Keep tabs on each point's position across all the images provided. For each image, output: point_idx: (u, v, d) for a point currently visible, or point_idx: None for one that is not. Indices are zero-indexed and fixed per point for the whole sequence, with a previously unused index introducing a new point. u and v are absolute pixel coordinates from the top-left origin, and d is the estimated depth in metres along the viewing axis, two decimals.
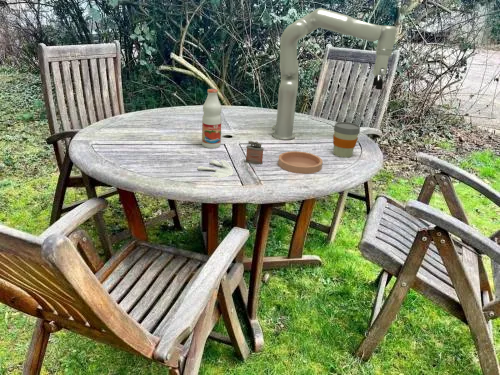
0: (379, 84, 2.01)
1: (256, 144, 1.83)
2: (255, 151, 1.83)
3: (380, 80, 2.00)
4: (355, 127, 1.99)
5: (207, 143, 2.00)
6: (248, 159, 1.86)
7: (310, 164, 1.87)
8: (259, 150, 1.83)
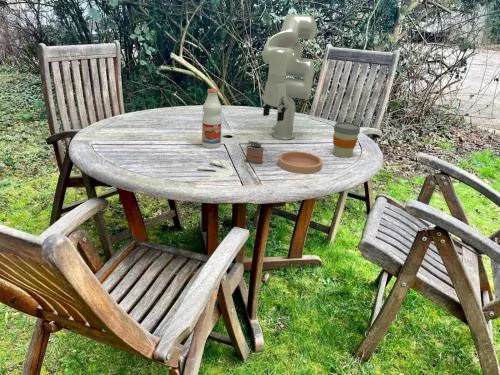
0: (282, 115, 1.77)
1: (256, 144, 1.83)
2: (255, 151, 1.83)
3: (283, 111, 1.76)
4: (355, 127, 1.99)
5: (207, 143, 2.00)
6: (248, 159, 1.86)
7: (310, 164, 1.87)
8: (259, 150, 1.83)
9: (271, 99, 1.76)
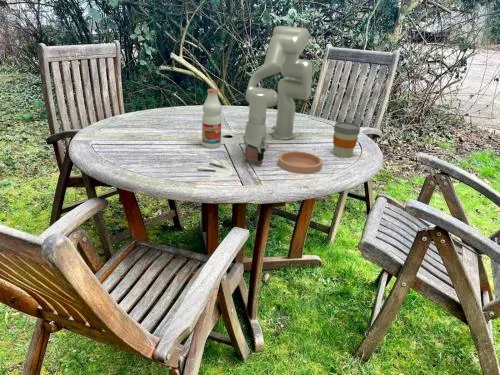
0: (261, 155, 1.82)
1: None
2: (255, 151, 1.83)
3: (263, 151, 1.81)
4: (355, 127, 1.99)
5: (207, 143, 2.00)
6: (248, 159, 1.86)
7: (310, 164, 1.87)
8: None
9: (252, 139, 1.80)
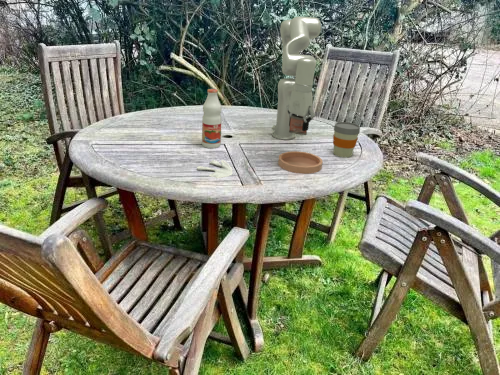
0: (307, 125, 1.76)
1: None
2: (300, 121, 1.78)
3: (308, 121, 1.75)
4: (355, 127, 1.99)
5: (207, 143, 2.00)
6: (291, 129, 1.81)
7: (310, 164, 1.87)
8: None
9: (297, 108, 1.74)
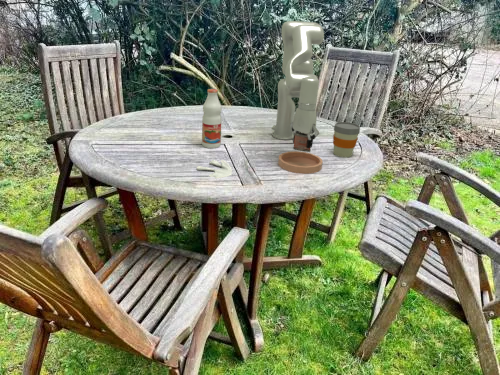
0: (311, 142, 1.79)
1: None
2: (304, 138, 1.81)
3: (312, 138, 1.78)
4: (355, 127, 1.99)
5: (207, 143, 2.00)
6: (296, 146, 1.84)
7: (310, 164, 1.87)
8: None
9: (302, 126, 1.78)
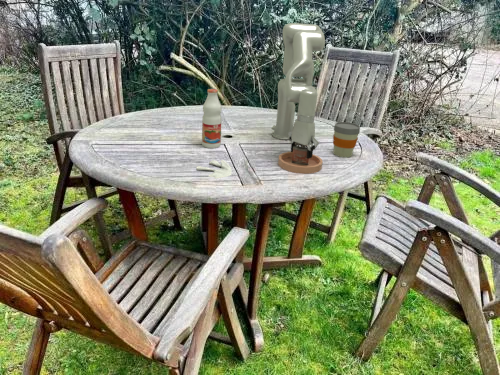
0: (311, 153, 1.81)
1: (303, 145, 1.83)
2: (302, 152, 1.84)
3: (312, 149, 1.80)
4: (355, 127, 1.99)
5: (207, 143, 2.00)
6: (294, 159, 1.87)
7: (310, 164, 1.87)
8: (306, 151, 1.83)
9: (300, 137, 1.80)
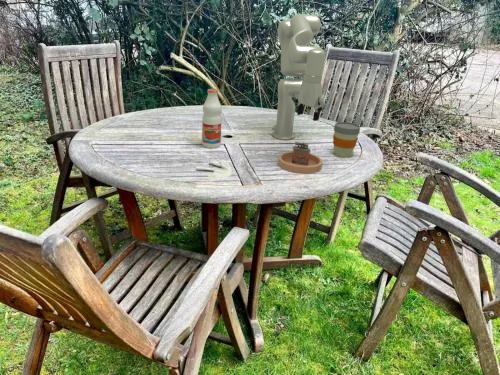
0: (318, 115, 1.78)
1: (303, 145, 1.83)
2: (302, 152, 1.84)
3: (319, 111, 1.77)
4: (355, 127, 1.99)
5: (207, 143, 2.00)
6: (294, 159, 1.87)
7: (310, 164, 1.87)
8: (306, 151, 1.83)
9: (307, 99, 1.77)
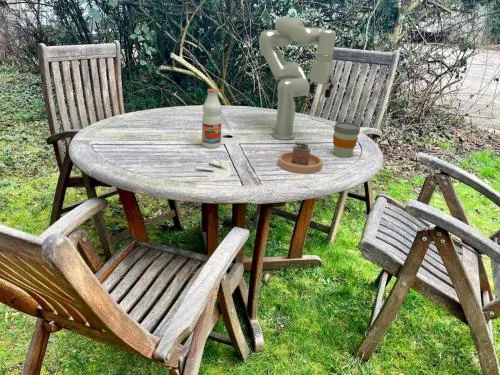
0: (329, 92, 1.90)
1: (303, 145, 1.83)
2: (302, 152, 1.84)
3: (331, 88, 1.89)
4: (355, 127, 1.99)
5: (207, 143, 2.00)
6: (294, 159, 1.87)
7: (310, 164, 1.87)
8: (306, 151, 1.83)
9: (319, 77, 1.89)
